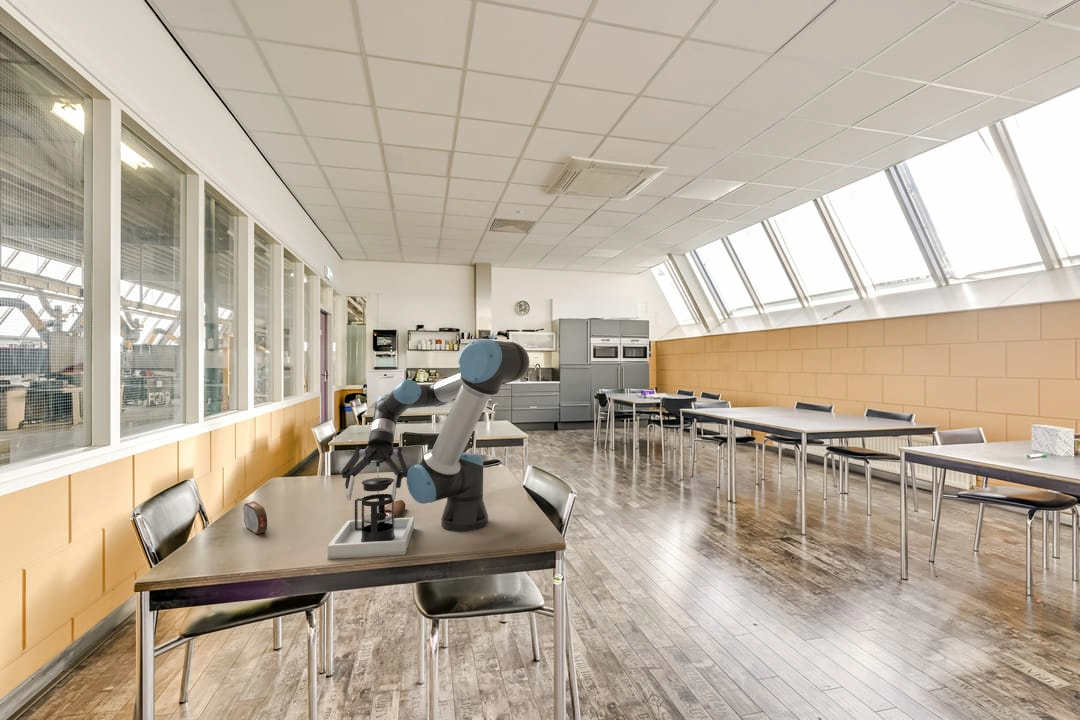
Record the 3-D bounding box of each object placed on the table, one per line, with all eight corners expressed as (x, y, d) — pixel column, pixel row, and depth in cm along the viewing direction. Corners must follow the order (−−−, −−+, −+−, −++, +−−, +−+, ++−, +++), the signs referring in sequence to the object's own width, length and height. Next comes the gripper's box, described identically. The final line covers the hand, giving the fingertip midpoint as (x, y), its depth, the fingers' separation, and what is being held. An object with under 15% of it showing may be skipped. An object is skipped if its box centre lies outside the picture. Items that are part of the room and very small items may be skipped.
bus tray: (413, 528, 151) (413, 517, 151) (405, 554, 130) (405, 541, 130) (347, 531, 148) (347, 520, 148) (327, 559, 126) (327, 545, 126)
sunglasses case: (381, 509, 172) (391, 493, 173) (398, 519, 173) (408, 502, 173) (370, 525, 154) (381, 507, 155) (389, 535, 155) (400, 517, 156)
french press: (400, 533, 144) (400, 456, 145) (393, 544, 135) (393, 462, 136) (360, 534, 143) (360, 457, 144) (350, 545, 134) (350, 463, 135)
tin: (268, 535, 145) (268, 507, 146) (256, 537, 143) (257, 509, 143) (252, 524, 156) (252, 498, 156) (241, 526, 153) (241, 500, 154)
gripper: (421, 443, 157) (414, 503, 141) (344, 443, 153) (329, 505, 137) (420, 429, 152) (413, 489, 136) (340, 429, 148) (324, 491, 132)
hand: (371, 497), depth 137 cm, fingers open, 12 cm apart
